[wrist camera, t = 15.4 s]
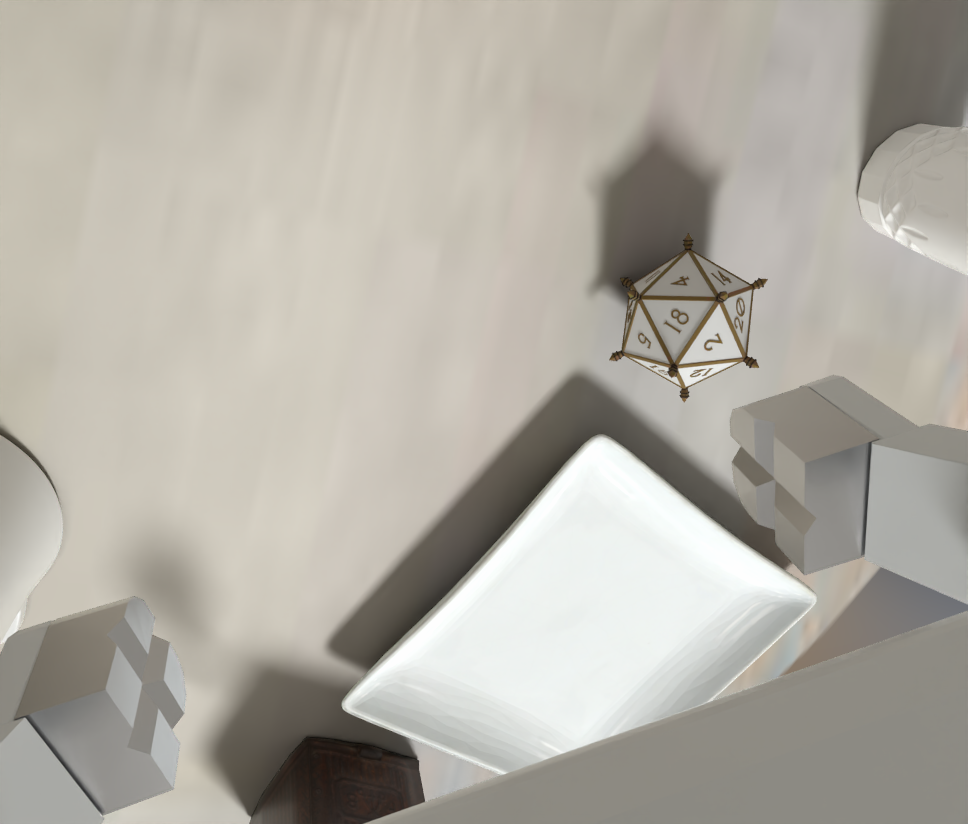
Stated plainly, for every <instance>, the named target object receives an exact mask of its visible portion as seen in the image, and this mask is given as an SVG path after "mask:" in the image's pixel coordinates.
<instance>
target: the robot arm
mask: <svg viewBox="0 0 968 824" xmlns="http://www.w3.org/2000/svg"><path fill="white" fill-rule="evenodd" d="M730 436H731V437H732V438H733V439H734V440H735V441H736V442H737V443H738V444H739V445H740V446H741V447H740V449H739V450H738V452H737V454H736V456H735V457H734V459H733V461H732V470H733V481H734V484H735V487H736V490H737V493H738V496H739V499H740V501H741V503H742V505H743V506H744V508H745V510H746V511H747V513H748V514H749V515H750V516H751V517H752V519H753V520H754V521H755V522H756V523H757V524H758V525H761V526H764V527H767V528H771V529H774V530H775V543H776V545H777V546H778V547H779V548H780V550H781V551H782V552H783V553H784V554H785V555H786V556H787V557H788V558H789V559H790V560H791V561H792V563H793V564H794V565H795V566H796V567H797V568H798V569H799V570H800V571H801V572H802V573H803V574H804V575H807V574H810V573H813V572H816V571H820V570H823V569H826V568H829V567H833V566H836V565H839V564H842V563H846V562H849V561H852V560H855V559H858V558H862V557H865V560H866V561H869V562H871V563H873V564H876V565H878V566H880V567H883V568H885V569H888V570H890V571H892V572H894V573H897V574H899V575H901V576H903V577H906V578H908V579H910V580H913V581H915V582H917V583H919V584H922V585H924V586H926V587H929V588H931V589H933V590H936V591H938V592H940V593H943V594H945V595H947V596H949V597H952V598H954V599H956V600H959V601H961V602H963V603H966V604H968V431H965V430H960V429H955V428H949V427H944V426H939V425H933V424H928V425H924V426H921V427H918V426H917V425H915V424H914V423H912V422H911V421H909V420H908V419H906V418H905V417H903V416H902V415H900V414H899V413H897V412H896V411H894V410H892V409H891V408H889V407H888V406H886V405H885V404H883V403H882V402H880V401H879V400H877V399H876V398H874V397H873V396H871V395H870V394H868V393H867V392H865V391H864V390H862V389H861V388H859V387H858V386H856V385H855V384H853V383H852V382H850V381H849V380H847V379H846V378H844V377H842V376H836V375H832V376H829V377H826V378H823V379H820V380H817V381H814V382H812V383H809V384H806V385H803V386H800V387H799V388H797V389H794V390H791V391H788V392H785V393H782V394H779V395H776V396H773V397H769V398H766V399H763V400H760V401H757V402H754V403H751V404H748V405H745V406H742V407H739V408H736V409H733V410H732V414H731V417H730ZM62 535H63V518H62V511H61V507H60V504H59V501H58V498H57V495H56V493H55V491H54V489H53V487H52V485H51V484H50V482H49V480H48V479H47V477H46V476H45V474H44V473H43V472H42V471H41V469H40V468H39V467H38V466H37V465H36V463H35V462H34V461H33V460H32V459H31V458H30V457H29V456H28V455H27V454H25V453H24V452H23V451H22V450H21V449H20V448H18V447H17V446H16V445H14V444H13V443H12V442H10V441H9V440H7V439H6V438H4V437H3V436H1V435H0V644H1V643H5V645H4V647H3V649H2V652H1V654H0V824H101V823H102V822H103V820H104V817H103V815H106V814H108V813H111V812H114V811H116V810H119V809H122V808H124V807H127V806H130V805H133V804H135V803H138V802H141V801H143V800H146V799H149V798H152V797H154V796H157V795H160V794H162V793H165V792H168V791H171V790H173V789H174V784H175V777H176V770H177V762H178V755H179V748H180V742H179V740H178V739H177V737H176V735H175V734H174V732H173V731H172V729H173V728H174V726H175V725H176V724H177V722H178V721H179V720H180V718H181V717H182V716H183V714H184V711H185V701H186V689H185V681H184V673H183V670H182V667H181V664H180V662H179V659H178V656H177V654H176V653H175V651H174V649H173V647H172V646H171V644H170V642H168V641H165V640H163V639H161V638H158V637H156V636H154V635H152V632H153V627H154V622H155V617H154V615H153V614H152V612H151V611H150V609H149V608H148V606H147V605H146V603H145V602H144V600H143V599H140V598H137V597H135V596H134V597H130V598H127V599H123V600H120V601H116V602H113V603H110V604H106V605H103V606H99V607H96V608H92V609H89V610H86V611H82V612H79V613H75V614H72V615H68V616H65V617H62V618H58V619H56V620H54V621H48V622H45V623H42V624H39V625H35V626H32V627H29V628H26V629H23V630H20V631H18V629H19V627H20V626H21V624H22V622H23V619H24V616H25V612H26V606H27V599H28V596H29V595H30V593H31V592H32V590H33V589H34V588H35V586H36V585H37V584H38V583H39V581H40V580H41V579H42V578H43V577H44V575H45V574H46V573H47V571H48V570H49V569H50V567H51V566H52V564H53V562H54V561H55V558H56V556H57V554H58V552H59V549H60V546H61V541H62ZM364 824H968V611H965V612H962V613H960V614H957V615H954V616H951V617H948V618H945V619H943V620H940V621H937V622H934V623H931V624H929V625H926V626H923V627H920V628H917V629H915V630H912V631H909V632H906V633H903V634H901V635H898V636H895V637H892V638H889V639H886V640H884V641H881V642H878V643H875V644H872V645H870V646H867V647H864V648H861V649H859V650H856V651H853V652H850V653H847V654H844V655H842V656H839V657H836V658H833V659H830V660H827V661H824V662H821V663H819V664H816V665H813V666H810V667H807V668H804V669H801V670H799V671H796V672H793V673H790V674H787V675H784V676H781V677H779V678H776V679H773V680H770V681H767V682H764V683H761V684H759V685H756V686H753V687H750V688H747V689H744V690H741V691H739V692H736V693H733V694H730V695H727V696H724V697H721V698H719V699H716V700H713V701H710V702H707V703H704V704H701V705H699V706H696V707H693V708H690V709H687V710H684V711H681V712H679V713H676V714H673V715H670V716H667V717H664V718H661V719H659V720H656V721H653V722H650V723H647V724H644V725H641V726H639V727H636V728H633V729H630V730H627V731H624V732H622V733H619V734H616V735H613V736H610V737H607V738H605V739H602V740H599V741H596V742H593V743H590V744H588V745H585V746H582V747H579V748H576V749H573V750H571V751H568V752H565V753H562V754H559V755H556V756H554V757H551V758H548V759H545V760H542V761H540V762H537V763H534V764H531V765H528V766H525V767H523V768H520V769H517V770H514V771H511V772H508V773H506V774H503V775H500V776H497V777H494V778H491V779H489V780H486V781H483V782H480V783H477V784H474V785H472V786H469V787H466V788H463V789H460V790H457V791H455V792H452V793H449V794H446V795H443V796H440V797H438V798H435V799H432V800H429V801H426V802H423V803H421V804H418V805H415V806H412V807H409V808H406V809H404V810H401V811H398V812H395V813H392V814H390V815H387V816H384V817H381V818H378V819H375V820H373V821H370V822H367V823H364Z"/></svg>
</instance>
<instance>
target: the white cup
mask: <svg viewBox="0 0 968 824" xmlns="http://www.w3.org/2000/svg"><path fill="white" fill-rule="evenodd" d="M857 197H858V202H859V206H860V210H861V215H862V218H863V219H864V220H865V221H866V222H867V223H868V224H869V225H870V226H871V227H872V228H873V229H874V230H875V231H877V232H879V233H881V234H883V235H886V236H888V237H890V238H892V239H895V240H897V241H898V242H899V243H901V244H903V245H904V246H906V247H908V248H910V249H912V250H914V251H916V252H919V253H920V254H922V255H924V256H926V257H928V258H930V259H932V260H934V261H936V262H938V263H940V264H942V265H945V266H947V267H949V268H951V269H953V270H955V271H958V272H960V273H962V274H964V275H966V276H968V127H943V126H936V125H929V124H916V125H913V126H910V127H907V128H904V129H901V130H898V131H896V132H895V133H894V134H892V135H891V136H890V137H889V138H888V139H887V140H885V141H884V142H883V143H882V144H881V145H880V146H878V147H877V148H876V150H875V151H874V153H873V155H872V156H871V158H870V160H869V161H868V163H867V165H866V166H865V168H864V170H863V172H862V176H861V181H860V185H859V191H858V196H857Z"/></svg>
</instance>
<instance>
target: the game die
mask: <svg viewBox="0 0 968 824" xmlns="http://www.w3.org/2000/svg"><path fill="white" fill-rule="evenodd" d="M683 241H684V244H683V245H684V247H685V250H684V251H683V252H681V253H680V254H678V255H676V256H675V257H673V258H672V259H670V260H669V261H667V262H665V263H664V264H662V265H661V266H659V267H658V268H656V269H654V270H653V271H651V272H650V273H648V274H647V275H645V276H644V277H642V278H640V279H639V280H637V281H636V282H634V283H632V281H631V280H629V279H628V277H627V278H620V279H621V281H622V285H623V286H626V288H627V287H629V288H630V291H629V292H627V293H628V297H629V299H628V306H627V314H626V321H625V329H624V336H623V343H622V350H621V351H619V352H617V351H616V353H613V354H612V356H611V358H610V359H609V360H612V361H617V360H619V359H621V358H622V357H623V356H626V357H628V358H629V359H631V360H633V361H635V362H636V363H638V364H640V365H642V366H643V367H645V368H647V369H649V370H651V371H652V372H654V373H656V374H658V375H659V376H661V377H663V378H665V379H666V380H668V381H670V382H672V383H674V384H675V385H677V386H679V387H681V388H682V390H681V391H680V393H681V395H680V397H681V398H682V400H683V401H684V402H685V401H686V399H687V398H688V397H689V395H688V393H689V392H688V387H690V386H692V385H695V384H697V383H699V382H701V381H703V380H705V379H707V378H709V377H711V376H713V375H715V374H717V373H720V372H722V371H724V370H726V369H728V368H730V367H732V366H734V365H736V364H738V363H740V362H745V363H746V366H747V365H748V366H749V368H751V367H753V368H759V366H758V364H757V362H756V359H755V360H754V359H753V358H752V357H751V358H750V357H748V356H747V352H748V342H749V332H750V322H751V311H752V301H753V291H754V289H760V287H764V284H765V283H766V281H767V280H768V279H760V278H758V280H757V281H756V280H755V282H754V283H753V284H749V283H748V282H746V281H744V280H742V279H741V278H739V277H737V276H735V275H734V274H732V273H730V272H729V271H727V270H725V269H723V268H722V267H720V266H718V265H716V264H715V263H713V262H711V261H710V260H708V259H706V258H704V257H703V256H701V255H699V254H697V253H696V252H694V251H692V250H691V247H692V245H693V244H692V241H693V240H692V238H691V236H690V235H689V233H688V235H687V236H686V238H685V239H684V240H683Z"/></svg>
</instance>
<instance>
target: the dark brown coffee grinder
mask: <svg viewBox="0 0 968 824" xmlns="http://www.w3.org/2000/svg"><path fill="white" fill-rule="evenodd" d="M423 802H425V799H424V793H423V788H422V783H421V777H420V772H419V760H416V759H412V758H409V757H405V756H402V755H399V754H395V753H392V752H389V751H385V750H382V749H379V748H376V747H372V746H369V745H364V744H359V743H349V742H344V741H339V740H333V739H324V738H309V737H306V739H305V740H304V741H303V742H302V743H301V744H300V745H299V746H298V747H297V748H296V749H295V750H294V751H293V752H292V753H291V755H290V756H289V757H288V758H287V760H286V761H285V763H284V764H283V765H282V767H281V768H280V770H279V771H278V773H277V774H276V775H275V777H274V778H273V780H272V781H271V783H270V784H269V786H268V787H267V789H266V790H265V791H264V793H263V794H262V796H261V798H260V801H259V803H258V805H257V807H256V809H255V811H254V814H253V816H252V818H251V820H250V824H364V823H367V822H370V821H373V820H375V819H378V818H381V817H384V816H387V815H390V814H392V813H395V812H398V811H401V810H404V809H406V808H409V807H412V806H415V805H418V804H421V803H423Z"/></svg>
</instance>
